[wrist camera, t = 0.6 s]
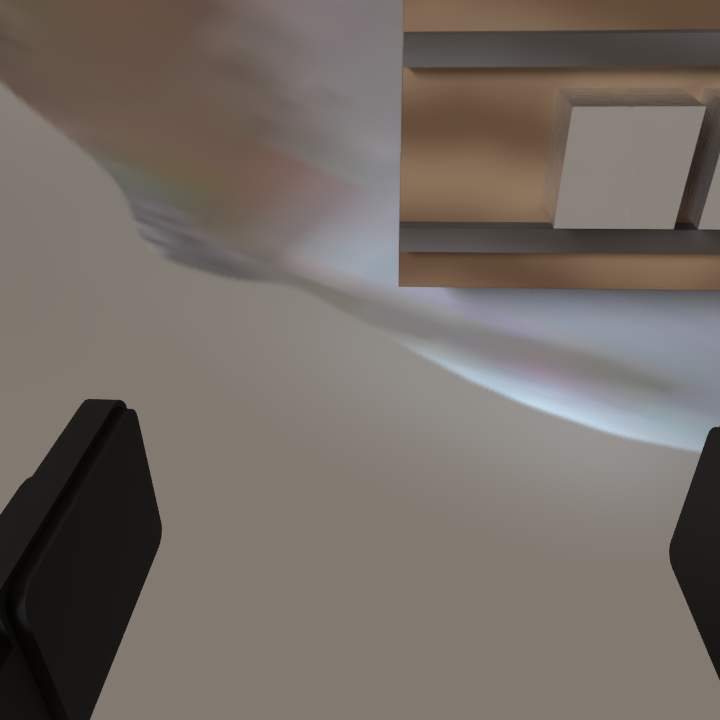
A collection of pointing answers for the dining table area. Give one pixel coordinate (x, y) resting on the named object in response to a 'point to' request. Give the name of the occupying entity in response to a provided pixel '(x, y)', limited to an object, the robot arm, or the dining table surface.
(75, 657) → the robot arm
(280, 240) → the dining table surface
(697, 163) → the chip
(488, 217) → the slot board
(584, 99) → the chip
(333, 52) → the dining table surface
